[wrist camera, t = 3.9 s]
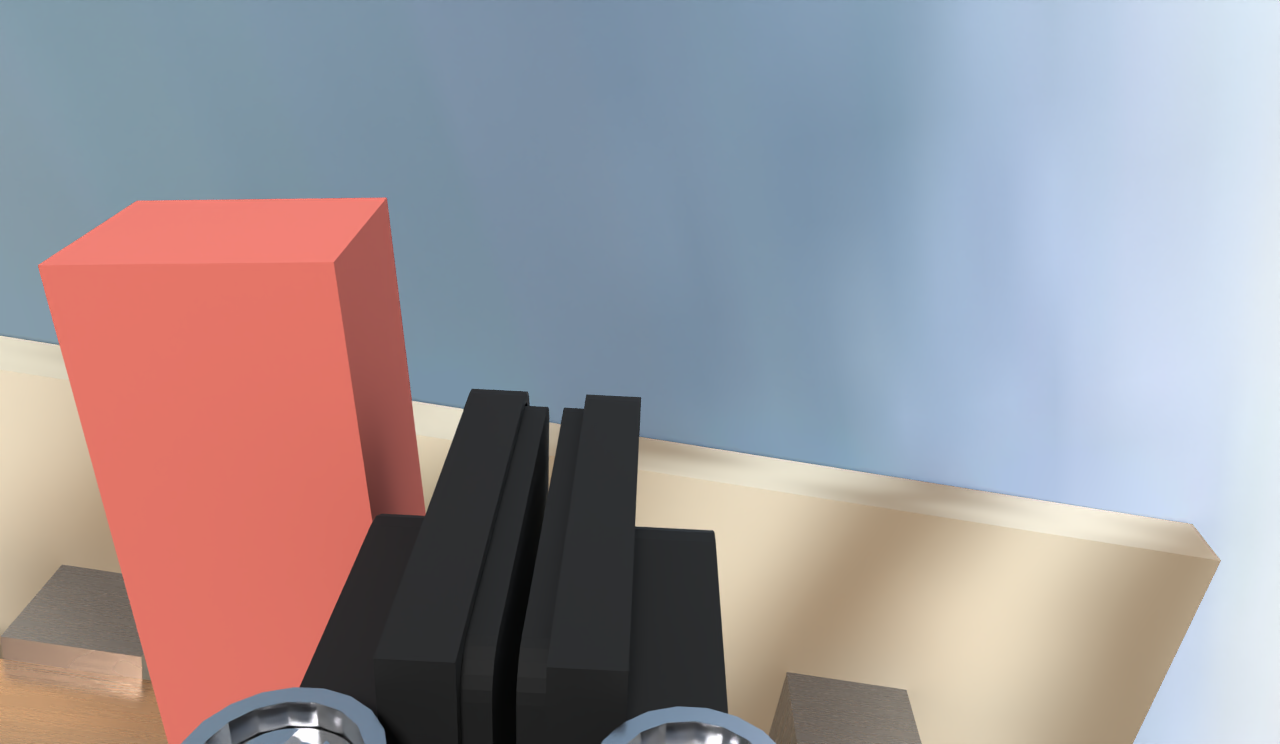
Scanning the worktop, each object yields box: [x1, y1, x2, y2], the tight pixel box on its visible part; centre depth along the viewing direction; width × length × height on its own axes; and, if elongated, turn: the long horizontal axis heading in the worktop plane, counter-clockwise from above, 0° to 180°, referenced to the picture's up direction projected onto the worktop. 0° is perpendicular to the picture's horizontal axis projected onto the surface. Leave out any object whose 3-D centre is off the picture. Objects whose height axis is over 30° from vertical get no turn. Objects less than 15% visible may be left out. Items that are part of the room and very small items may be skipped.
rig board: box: [0, 336, 1221, 744], centre depth 22 cm, size 26×12×1 cm, turn 81°
